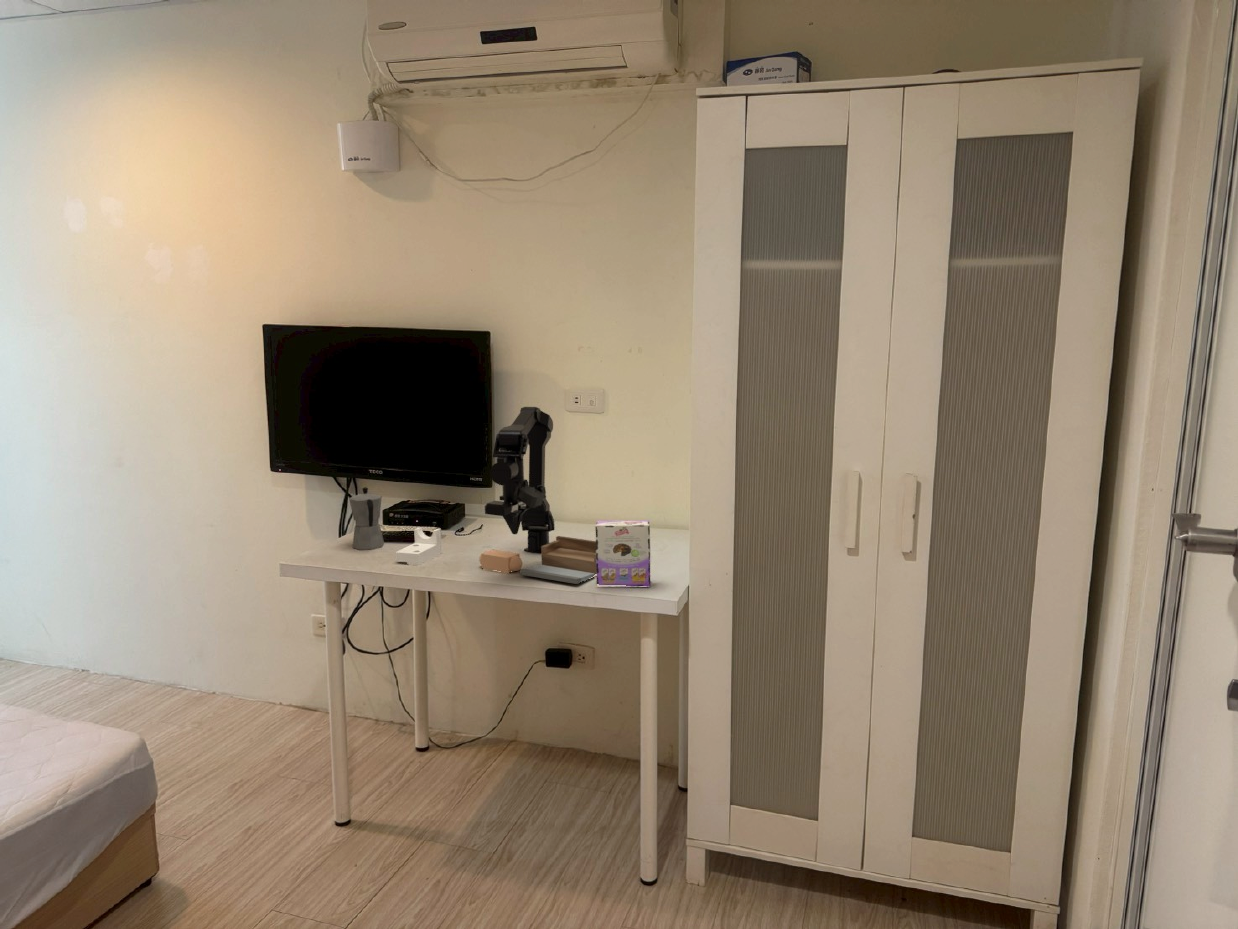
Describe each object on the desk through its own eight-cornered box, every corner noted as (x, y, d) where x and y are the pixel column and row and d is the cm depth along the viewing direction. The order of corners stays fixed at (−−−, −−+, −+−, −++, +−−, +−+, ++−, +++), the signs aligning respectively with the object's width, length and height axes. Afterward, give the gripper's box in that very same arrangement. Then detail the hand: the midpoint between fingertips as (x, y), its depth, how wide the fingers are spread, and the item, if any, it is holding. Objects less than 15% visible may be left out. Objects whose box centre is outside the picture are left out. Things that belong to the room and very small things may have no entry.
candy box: (650, 581, 228) (650, 519, 225) (650, 588, 222) (650, 524, 219) (597, 581, 228) (596, 519, 226) (595, 588, 223) (595, 524, 220)
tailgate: (539, 564, 239) (519, 569, 231) (594, 573, 230) (576, 579, 223) (539, 568, 239) (519, 574, 231) (594, 577, 230) (576, 584, 223)
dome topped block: (487, 563, 245) (486, 548, 244) (526, 570, 238) (526, 554, 237) (475, 568, 240) (474, 552, 239) (515, 575, 234) (514, 559, 233)
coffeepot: (348, 543, 268) (345, 485, 265) (380, 539, 272) (377, 482, 269) (357, 555, 254) (353, 494, 251) (390, 551, 258) (386, 491, 255)
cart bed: (558, 560, 248) (558, 535, 247) (614, 568, 239) (614, 543, 238) (541, 567, 240) (541, 542, 239) (598, 576, 232) (598, 551, 230)
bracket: (420, 552, 258) (418, 527, 257) (441, 554, 256) (440, 528, 254) (396, 564, 246) (394, 538, 244) (418, 566, 244) (417, 540, 242)
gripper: (518, 486, 220) (520, 546, 222) (557, 472, 236) (559, 529, 239) (482, 482, 225) (484, 541, 228) (523, 469, 241) (524, 524, 244)
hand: (514, 534), depth 234 cm, fingers closed
